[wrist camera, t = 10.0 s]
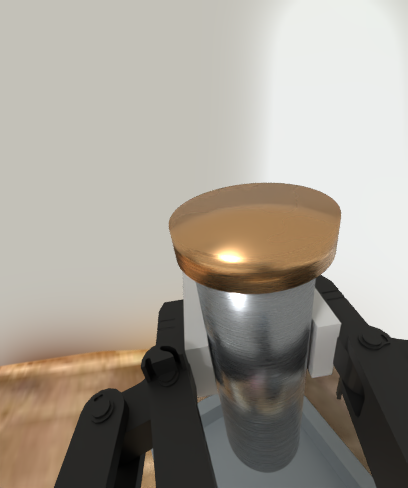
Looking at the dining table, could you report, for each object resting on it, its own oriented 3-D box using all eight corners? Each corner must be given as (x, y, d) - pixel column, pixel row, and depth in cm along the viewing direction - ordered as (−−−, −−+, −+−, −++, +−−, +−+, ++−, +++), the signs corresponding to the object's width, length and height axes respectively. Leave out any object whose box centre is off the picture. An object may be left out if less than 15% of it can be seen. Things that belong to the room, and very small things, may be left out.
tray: (154, 446, 21) (146, 431, 20) (274, 375, 24) (274, 359, 23) (227, 738, 11) (221, 746, 10) (408, 548, 15) (421, 536, 13)
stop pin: (204, 408, 14) (150, 208, 8) (270, 371, 15) (266, 174, 9) (249, 509, 11) (212, 284, 4) (329, 449, 12) (386, 212, 6)
